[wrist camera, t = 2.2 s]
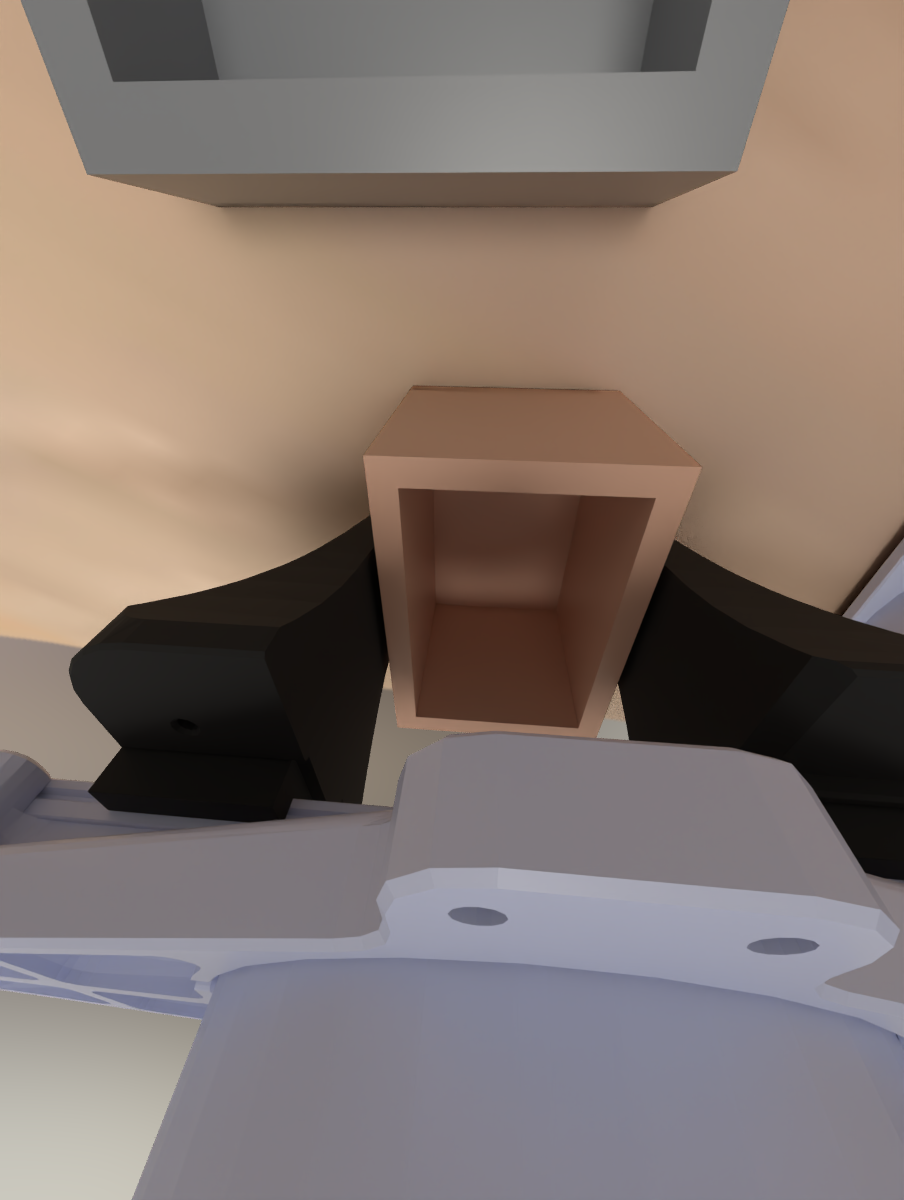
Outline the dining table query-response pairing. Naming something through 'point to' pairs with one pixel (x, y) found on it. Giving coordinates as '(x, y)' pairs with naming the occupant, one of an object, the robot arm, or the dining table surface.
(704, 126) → the large crate
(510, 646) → the small crate
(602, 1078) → the robot arm
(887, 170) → the dining table surface
